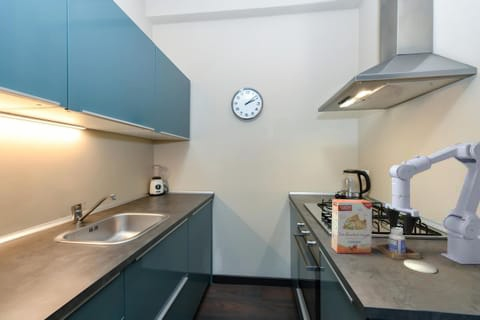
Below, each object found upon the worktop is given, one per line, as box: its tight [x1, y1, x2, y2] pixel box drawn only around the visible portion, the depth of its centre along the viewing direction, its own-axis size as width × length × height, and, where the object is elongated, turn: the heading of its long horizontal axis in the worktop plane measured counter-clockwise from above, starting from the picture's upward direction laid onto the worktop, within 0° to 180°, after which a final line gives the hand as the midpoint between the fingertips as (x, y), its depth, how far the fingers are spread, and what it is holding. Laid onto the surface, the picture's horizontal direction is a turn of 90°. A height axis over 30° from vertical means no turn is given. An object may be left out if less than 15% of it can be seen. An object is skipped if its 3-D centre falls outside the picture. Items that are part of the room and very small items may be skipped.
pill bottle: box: [388, 227, 406, 254], centre depth 89 cm, size 5×5×10 cm
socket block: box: [374, 243, 422, 261], centre depth 89 cm, size 11×11×2 cm
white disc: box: [403, 259, 438, 274], centre depth 78 cm, size 9×9×1 cm
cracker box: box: [331, 198, 373, 254], centre depth 92 cm, size 14×6×21 cm, turn 91°
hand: (400, 230), depth 86 cm, fingers open, 7 cm apart
